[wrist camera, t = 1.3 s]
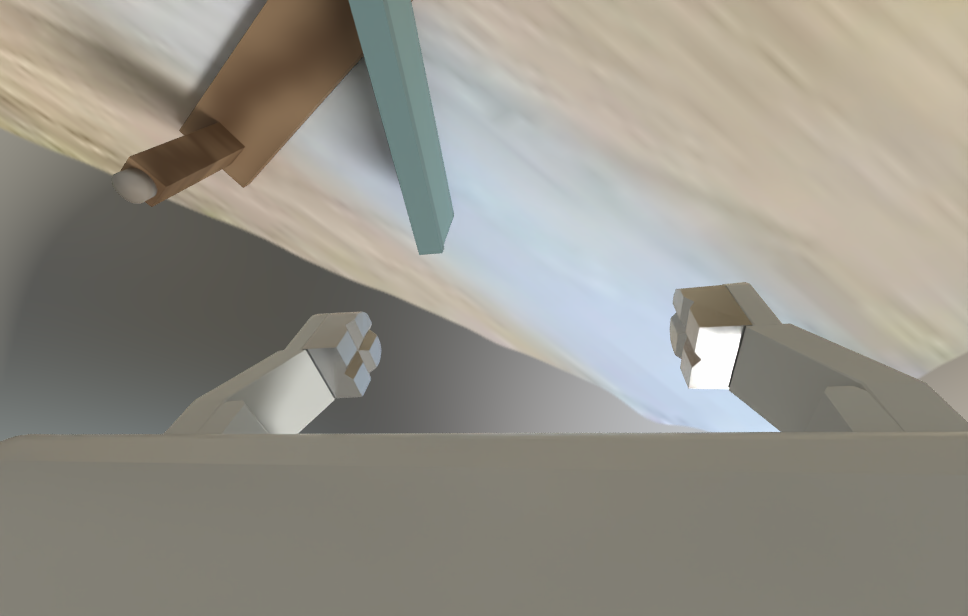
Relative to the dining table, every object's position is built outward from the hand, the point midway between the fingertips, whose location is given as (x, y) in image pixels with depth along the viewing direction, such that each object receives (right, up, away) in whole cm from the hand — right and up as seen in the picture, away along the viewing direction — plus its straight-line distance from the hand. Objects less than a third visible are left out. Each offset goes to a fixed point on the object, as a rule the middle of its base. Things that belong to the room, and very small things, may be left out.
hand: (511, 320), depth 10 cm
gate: (-6, +16, +18) cm, 25 cm away
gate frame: (-14, +20, +18) cm, 30 cm away
